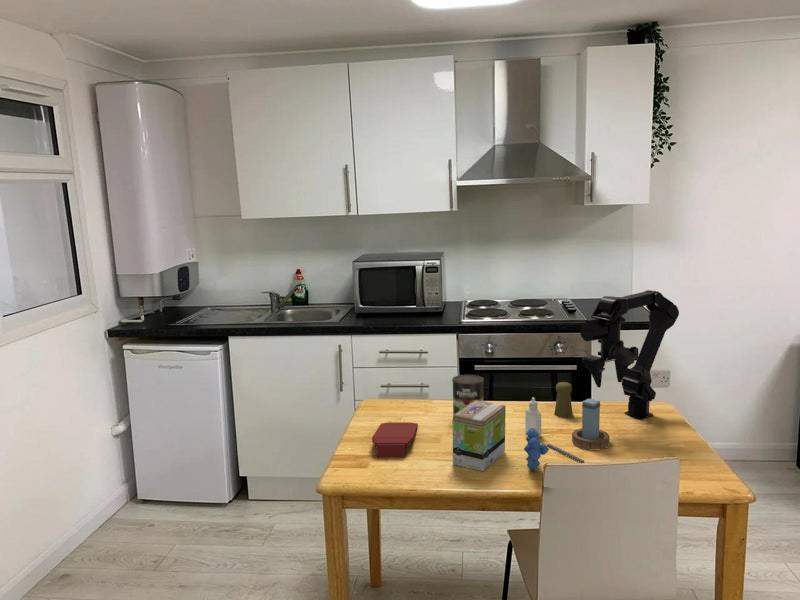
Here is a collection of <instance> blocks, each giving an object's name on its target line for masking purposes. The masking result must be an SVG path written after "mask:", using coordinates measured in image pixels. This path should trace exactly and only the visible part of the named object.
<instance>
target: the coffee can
mask: <svg viewBox="0 0 800 600" xmlns="http://www.w3.org/2000/svg"><path fill="white" fill-rule="evenodd" d="M451 381H452V407H453V408H452V411H453V412H452V416H453V415H454V414H455V413H457V412H459V411H460V410H462V409H463V408H465V407H466V406H468V405H469V404H471V403H472V402H474V401H475V400H477V401H483V402H484V382H485V380H484V377H483V376H479V375H476V374H460V375H456V376H453V377H452V380H451Z"/></svg>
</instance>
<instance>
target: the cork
mask: <svg viewBox="0 0 800 600" xmlns="http://www.w3.org/2000/svg"><path fill="white" fill-rule="evenodd" d="M555 390H556V392H557V393H556V400H555V406H554V407H555V408H554V416H555V417H557V418H562V419H564V418H565V419H566V418H567V419H568V418H571V417H573V416H574V414H573V407H572V406H573V405H572V399H571V392H572V390H573V387H572V384H571V383H570V382H566V381H561V382H557V384H556V385H555Z"/></svg>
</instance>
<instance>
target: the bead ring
mask: <svg viewBox="0 0 800 600" xmlns="http://www.w3.org/2000/svg"><path fill="white" fill-rule="evenodd" d="M610 439H611V438H610V434H609V433H608V432H606V431H604V430H601V429H599V440H587V439H583V438H582V428H578V429H574V430H573V432H571V442H572V444H573V445H574V446H575V445H576V447H577V446H578V448H580V449H583V448H584V449H583V450H588V449H601V450H603V449H602V448H604V449H607V448H608V447H609V446H610V442H611V441H610ZM608 445H609V446H608ZM606 447H607V448H606Z"/></svg>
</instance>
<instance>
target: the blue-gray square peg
mask: <svg viewBox="0 0 800 600" xmlns="http://www.w3.org/2000/svg"><path fill="white" fill-rule="evenodd" d="M581 404H582V405H581V409H582V413H581V415H582V417H581V420H582V421H581V424H582V425H581V429H582V438H583V439H587V440H600V439H599V430H600V415H601V413H600V412H601V411H600V410H601V400H598V399H597V400H596V399H594V398H593V399H592V398H587V399H585V400H583V401H582V403H581Z"/></svg>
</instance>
